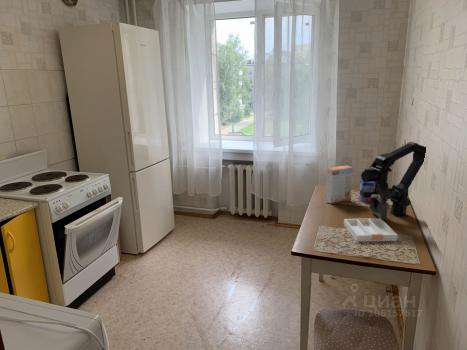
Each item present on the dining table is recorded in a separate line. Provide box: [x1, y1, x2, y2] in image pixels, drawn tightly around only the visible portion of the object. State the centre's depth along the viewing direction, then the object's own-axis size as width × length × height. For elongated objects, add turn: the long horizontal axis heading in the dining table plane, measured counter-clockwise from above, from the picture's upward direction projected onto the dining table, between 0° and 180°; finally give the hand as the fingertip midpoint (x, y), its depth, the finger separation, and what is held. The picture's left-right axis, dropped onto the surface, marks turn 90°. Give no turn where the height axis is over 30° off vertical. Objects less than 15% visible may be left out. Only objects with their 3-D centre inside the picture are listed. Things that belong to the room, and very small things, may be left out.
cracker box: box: [325, 164, 354, 205], centre depth 201 cm, size 14×6×21 cm, turn 108°
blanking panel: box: [369, 195, 389, 220], centre depth 177 cm, size 3×14×8 cm, turn 0°
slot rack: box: [343, 217, 399, 243], centre depth 162 cm, size 18×19×3 cm
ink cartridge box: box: [358, 179, 375, 203], centre depth 202 cm, size 10×6×14 cm, turn 88°
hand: (378, 208), depth 177 cm, fingers closed on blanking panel, 3 cm apart
